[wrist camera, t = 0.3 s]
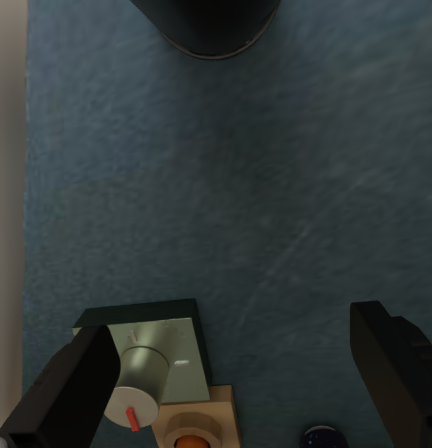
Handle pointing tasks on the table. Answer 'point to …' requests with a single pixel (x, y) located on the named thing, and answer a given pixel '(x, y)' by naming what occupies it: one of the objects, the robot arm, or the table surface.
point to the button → (191, 442)
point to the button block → (200, 420)
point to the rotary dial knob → (138, 388)
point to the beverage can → (323, 438)
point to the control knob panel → (161, 341)
